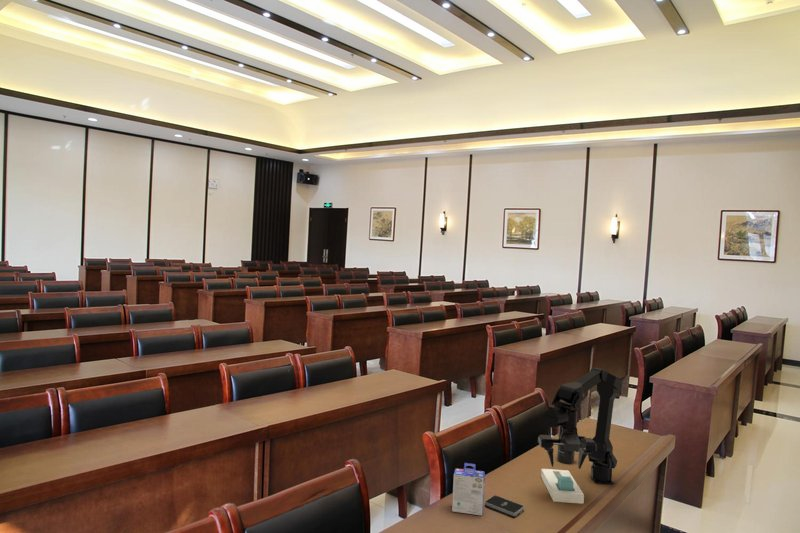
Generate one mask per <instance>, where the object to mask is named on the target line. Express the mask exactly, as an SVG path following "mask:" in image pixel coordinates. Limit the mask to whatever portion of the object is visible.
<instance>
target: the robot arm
mask: <svg viewBox="0 0 800 533" xmlns="http://www.w3.org/2000/svg"><path fill="white" fill-rule="evenodd" d="M622 385H623V383H622V380H621V379H620V377H619V376H616V375H614V374H612V373H609V372H608V371H606V369H604V368H603V369H602V368H597V367H592V368H590V370H589V371H588V372H587V373H586V374H584V375H583V376H581V377H580V378H579V379H577V380H575V381H574V382H566V383H564V384H561V385H560V386H559V387H558V389H557V391H556V393H555V395H554V397H553V399H552V401H551V406H549V407H548V410H546V411H545V412H544V414H543V422H544V423H545V425H546V426H547V427H549V428H552V429H553V428H557V427H558V435H557V437H558V438H552V436H551V435H550V434H539V435H538V437H537V443H538V444H539V446H540V447H541V448H542V449H544V451H545V450H546V452H547V455H548V459H549V463H550V465H551V467H552V468H553V467H554V463H555V462H554V448H553V447H554V445H557V446H558V445H564V447H565V450H566V451H575V452H576V453H578V460H577V465H578V466H577V468H578V469H579V470H581V469H582V466H583V464H584V461H585V459H586V458H587V457H588V461H589V462H590V463H592V465H591V466H590V477H591V479H592V480H593V481H594V483H596V484H607V485H614V482H613V481H612V478H613V477H612V476H613V469H616V467H617V465H618V464H617V463H618V460H617V458H616V456H615V455H614V453H613V452H614V450H613V449H614V448H613V443H612V442H611V440H610V435H611V434H610V433H611V429H612V428H611V425H612V418H613V409H614V404H615V403H614V402H615V399H617V397H618V396H619V394H620V393H621V389H622ZM595 386H596V392H597V394H598V396H599V402H598V410H597V418H596V426H595V434H594V436H593V437H592V438H591V437H586V436H584V435H583V436H582V435H581V436H580V435H579V434H578V428H577V426H578V425H577V424H578V410H580V409H582V406H580V405H579V404H580V403H581V402H582V401H583V400H584V395H585V394H586V393H587V392H588V391H590V390H592V388H594V387H595Z"/></svg>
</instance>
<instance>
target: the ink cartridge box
mask: <svg viewBox="0 0 800 533" xmlns="http://www.w3.org/2000/svg"><path fill="white" fill-rule="evenodd" d="M463 464H464V466H463V468H455V469H454V473H453V478H452V479H453V480H452V481H453V483H452V501H451V502H452V503H451V505H452V507H451V512H454V513H461V514H467V515H476V516H483V514H484V506H485V483H486V482H485V481H486V480H485V479H486V476H485V475H486V474H485V473H486V472H485V471H483V470H476V464H475V463H469V462H464V463H463ZM468 467H469V468H468ZM470 467H472V468H470Z"/></svg>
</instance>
